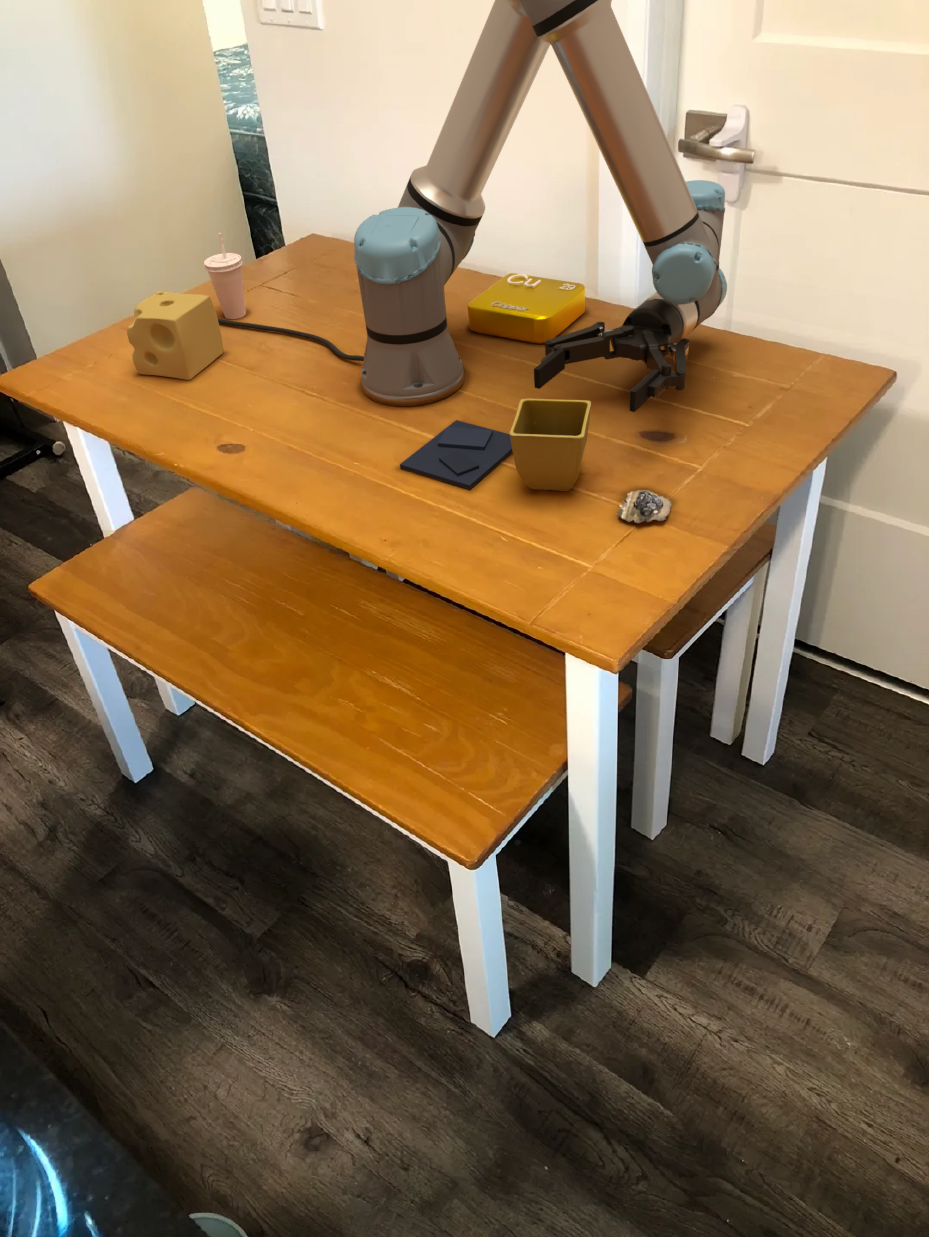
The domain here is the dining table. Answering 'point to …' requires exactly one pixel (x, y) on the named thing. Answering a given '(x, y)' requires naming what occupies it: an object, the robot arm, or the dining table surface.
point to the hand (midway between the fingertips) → (583, 390)
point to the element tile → (526, 308)
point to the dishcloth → (460, 454)
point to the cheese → (175, 335)
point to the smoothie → (227, 281)
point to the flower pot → (550, 441)
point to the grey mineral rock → (644, 507)
